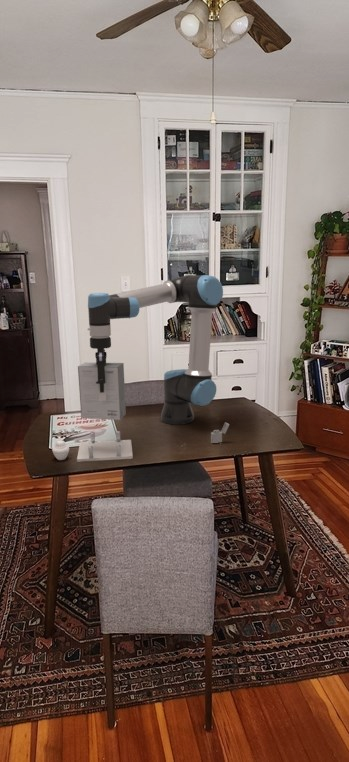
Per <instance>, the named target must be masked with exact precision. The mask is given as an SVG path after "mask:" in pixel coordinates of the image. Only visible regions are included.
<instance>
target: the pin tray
mask: <svg viewBox="0 0 349 762" xmlns="http://www.w3.org/2000/svg"><path fill="white" fill-rule="evenodd" d="M95 437H96V435H95V432H94V431H92V432H90V441H80V443H79V447H78V453H77V457H76V462H79V463H80V462H96V461H97V462H99V461H115V460H131V459H134V458H133V456H134V455H133V447H132V439H121V431H120V430H116V431H115V439H116V440H98V441H96V439H95Z"/></svg>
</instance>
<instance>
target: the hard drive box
mask: <svg viewBox="0 0 349 762" xmlns="http://www.w3.org/2000/svg"><path fill="white" fill-rule="evenodd" d="M124 363H125V362H106V365H105V366H104V368H105V383H106V401H99V396H98V384H96V382H98V369H97V364H96V362H84V363H81V364H79V365H78V366H77V372H78V374H77V375H78V389H79V402H80V418H81V419H88V420H89V419H90V420H93V419H94V420H111V421H114V420H115V421H120V420H122V419H123V418H124V417H125V416H126V414H127V413H126V412H127V410H126V409H127V408H126V389H125V386H126V385H125V384H126V383H125V369H124V368H125V367H124V365H125V364H124ZM100 380H103V379H100Z"/></svg>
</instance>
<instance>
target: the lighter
mask: <svg viewBox="0 0 349 762" xmlns="http://www.w3.org/2000/svg"><path fill="white" fill-rule="evenodd" d="M229 427H230V424H229V423H228V422H224V424H223V426H222V429H221V430H219V429H214V430H213V431H212V432H210V444H211V443H218V442H222V443H223V434H224V435H226V433H227V431H228V429H229Z"/></svg>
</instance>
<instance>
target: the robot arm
mask: <svg viewBox="0 0 349 762" xmlns="http://www.w3.org/2000/svg"><path fill="white" fill-rule="evenodd" d="M223 288H224V287H223V284H222V283H221V281H220V280H219V279H218V277H216V276H213V275H208V274H203V275H202V274H198V275H197V274H196V275H195V274H193V275H192V274H187V275H184V276H179V277H177V278H172V279H169V280H168V279H167V280H165V281H164V282H162V284H156V285H151V286H147V287H142V288H138V289H133V290H129V291H128V290H127V291H124V292H119V293H113V294H109V293H108V292H107V293H106V292H95V293H94V292H93V293H90V294H89V295H87V308H88V310H87V311H88V327H87V331H89V336H90V338H89V347H90V348H91V349H93V350H95V349H97V350H96V351H95V355H94V356H95V361H96V362H95V363H96V364H97V369H98V382H96V384H98V396H99V401H106V383H105V368H104V366H105V365H106V363H107V351H106V350H105V349H109V348H112V340H111V339H112V337H110V336H111V335H112V333H111V332H112V329H111V320H117V319H118V320H119V319H132V318H136V317H138V315H139V313H140V309H141V308H144V307H145V308H146V307H149V306H155V305H158V304H162V303H167V304H168V303H169V304H174V303H188V304H187V305H188V306H187V307H188V310H189V311H190V312H191V319H190V333H189V334H190V336H189V337H190V338H189V352H188V368H187V369H185V368H184V369H183V368H182V369H172V370H167V371H165V373H164V375H163V389H164V392H163V393H164V404H163V407H162V410H161V414H160V420H161V422H162V423H165V424H168V425H186V424H190V423H192V422H194V421H195V413H194V410H193V408H192V405H195V406H201V407H203V406H207V405H208V404H210V403H211V402H212V401H213V400H214V398H215V397H216V394H217V385H216V384H215V381H213V380H212V379H213V378H212V377H213V373H212V372H211V371H210V369H209V367H210V353H211V351H210V350H211V338H212V337H211V335H212V321H213V313H214V312H215V311H216V310H217V305H218V304H220V303H221V300H222V299H223V297H224V289H223ZM100 379H103V380H100ZM191 404H192V405H191ZM193 420H194V421H193Z"/></svg>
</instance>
